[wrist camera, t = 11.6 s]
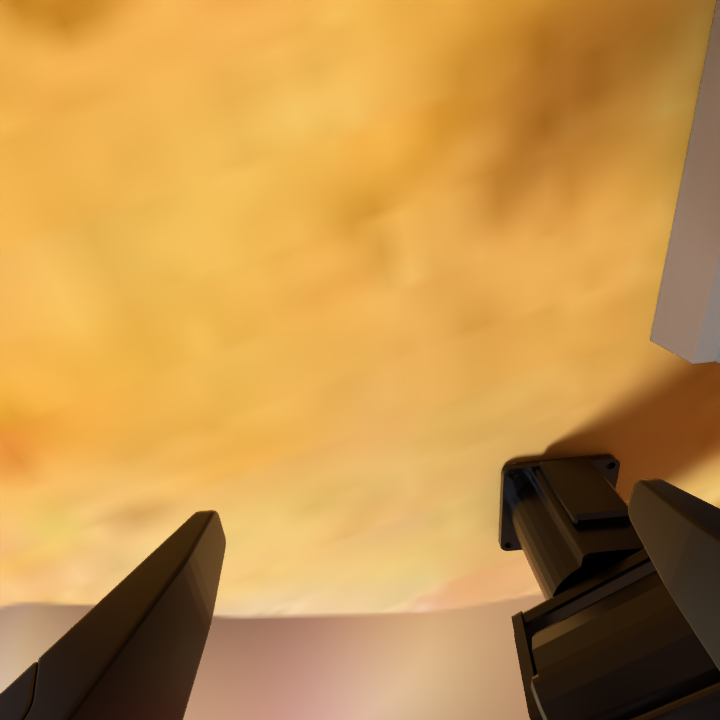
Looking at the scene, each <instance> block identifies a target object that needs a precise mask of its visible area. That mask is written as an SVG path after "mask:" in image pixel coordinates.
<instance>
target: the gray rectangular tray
mask: <svg viewBox="0 0 720 720" xmlns="http://www.w3.org/2000/svg"><path fill="white" fill-rule="evenodd" d="M650 341H652V342H654V343H656V344H658V345H659V346H661V347H663V348H665V349H667V350H668V351H670V352H672V353H674V354H676V355H677V356H679V357H681V358H683V359H685V360H686V361H688V362H690V363H692V364H696V363H705V362H715V361H716V362H718V363H720V0H717V3H716V8H715V13H714V18H713V23H712V28H711V33H710V38H709V43H708V48H707V53H706V58H705V63H704V69H703V74H702V79H701V84H700V89H699V94H698V99H697V104H696V109H695V114H694V119H693V124H692V129H691V134H690V140H689V145H688V150H687V155H686V160H685V165H684V170H683V175H682V180H681V185H680V190H679V195H678V200H677V205H676V211H675V216H674V221H673V226H672V231H671V236H670V241H669V246H668V251H667V256H666V261H665V266H664V271H663V276H662V281H661V287H660V292H659V297H658V302H657V307H656V312H655V317H654V322H653V327H652V332H651V337H650Z"/></svg>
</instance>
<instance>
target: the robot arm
mask: <svg viewBox="0 0 720 720" xmlns="http://www.w3.org/2000/svg"><path fill="white" fill-rule="evenodd" d="M610 462H611V463H610ZM608 463H609V464H608ZM607 464H608V465H607ZM619 467H620V462H619V461H618V459H617V458H616V457H615V456H614V455H612V454H605V455H595V456H585V457H575V458H565V459H556V460H546V461H536V462H526V463H516V464H509V465H506V466H504V467H503V469H502V471H501V491H500V517H499V544H500V546H501V548H502V549H503V550H505V551H513V550H523V551H524V554H525V556H526V558H527V560H528V562H529V565H530V567H531V569H532V571H533V573H534V576H535V578H536V580H537V582H538V584H539V587H540V589H541V591H542V593H543V595H544V598H545V600H546V601H544V602H542V603H540V604H538V605H537V606H535V607H533V608H531V609H529V610H527V611H525V612H524V613H523V612H519V613H517V614H515V615H513V616H512V622H513V628H514V633H515V634H514V637H515V642H516V648H517V653H518V659H519V664H520V670H521V675H522V681H523V685H524V691H525V696H526V702H527V708H528V713H529V717H530V719H531V720H720V509H719V508H717V507H715V506H713V505H711V504H709V503H707V502H705V501H703V500H701V499H699V498H697V497H695V496H693V495H691V494H689V493H687V492H685V491H683V490H681V489H679V488H677V487H675V486H673V485H671V484H669V483H667V482H665V481H663V480H661V479H658V478H650V479H639V480H637V481H636V482H635V484H634V487H633V491H632V495H631V498H630V502H629V505H628V504H627V503H626V502H625V501H624V499H623V498H622V497H621V496H620V495H619V493H618V492H617V491H616V490H615V488H616V483H617V478H618V472H619ZM511 472H514V473H513V474H510V475H509V473H511ZM225 547H226V540H225V535H224V531H223V528H222V525H221V521H220V518H219V515H218V513H217V512H216V511H214V510H208V511H198V512H196V513H195V514H193V515H192V516H191V517H190V518H189V519H188V520H187V521H186V522H185V523H184V524H183V525H182V526H181V527H179V528H178V529H177V530H176V531H175V532H174V533H173V534H172V535H171V536H170V537H169V538H168V539H167V540H165V541H164V542H163V543H162V544H161V545H160V546H159V547H158V548H157V549H156V550H155V551H154V552H153V553H151V554H150V555H149V556H148V557H147V558H146V559H145V560H144V561H143V562H142V563H141V564H140V565H139V566H138V567H136V568H135V569H134V570H133V571H132V572H131V573H130V574H129V575H128V576H127V577H126V578H125V579H124V580H122V581H121V582H120V583H119V584H118V585H117V586H116V587H115V588H114V589H113V590H112V591H111V592H110V593H109V594H107V595H106V596H105V597H104V598H103V599H102V600H101V601H100V602H99V603H98V604H97V605H96V606H95V607H94V608H92V609H91V610H90V611H89V612H88V613H87V614H86V615H85V616H84V617H83V618H82V619H81V620H79V621H78V623H76V624H75V625H74V626H73V627H72V628H71V629H70V630H69V631H68V632H67V633H66V634H65V635H63V636H62V637H61V638H60V639H59V640H58V641H57V642H56V643H55V644H54V645H53V646H52V647H50V648H49V650H47V651H46V652H45V653H44V654H43V655H42V656H41V657H40V658H39V660H38V662H35V663H33V664H32V665H31V666H30V667H29V668H28V669H27V670H26V671H25V672H23V673H22V674H21V675H20V676H19V677H18V678H17V679H16V680H15V681H14V682H13V683H12V684H10V686H8V687H7V688H6V689H5V690H4V691H3V692H2V693H1V694H0V720H183V718H184V714H185V711H186V708H187V704H188V701H189V697H190V694H191V690H192V687H193V684H194V680H195V677H196V674H197V670H198V667H199V663H200V660H201V657H202V653H203V650H204V646H205V643H206V639H207V636H208V632H209V629H210V625H211V620H212V616H213V612H214V607H215V601H216V596H217V591H218V585H219V580H220V574H221V569H222V564H223V558H224V553H225Z"/></svg>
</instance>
